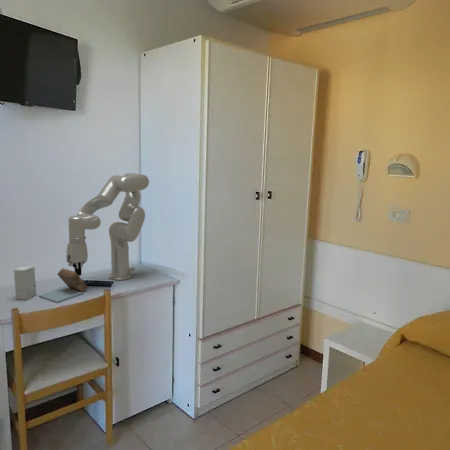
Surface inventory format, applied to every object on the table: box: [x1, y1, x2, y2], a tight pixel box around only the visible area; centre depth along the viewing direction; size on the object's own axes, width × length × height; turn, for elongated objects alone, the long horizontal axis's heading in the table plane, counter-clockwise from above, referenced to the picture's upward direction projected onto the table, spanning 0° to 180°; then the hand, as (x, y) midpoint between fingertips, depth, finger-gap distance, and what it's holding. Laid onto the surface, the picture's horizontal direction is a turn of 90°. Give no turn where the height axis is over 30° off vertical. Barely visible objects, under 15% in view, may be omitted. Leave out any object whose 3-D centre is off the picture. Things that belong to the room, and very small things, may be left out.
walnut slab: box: [57, 267, 88, 293], centre depth 215 cm, size 4×10×12 cm
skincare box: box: [13, 265, 37, 301], centre depth 206 cm, size 8×6×15 cm
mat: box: [38, 286, 84, 304], centre depth 210 cm, size 15×14×1 cm
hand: (78, 275), depth 217 cm, fingers closed
